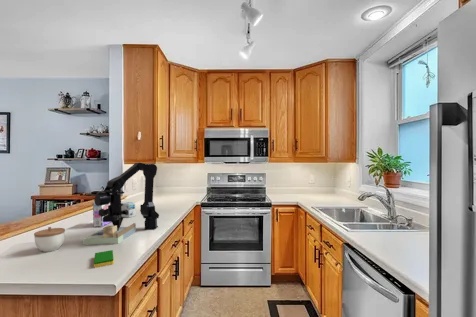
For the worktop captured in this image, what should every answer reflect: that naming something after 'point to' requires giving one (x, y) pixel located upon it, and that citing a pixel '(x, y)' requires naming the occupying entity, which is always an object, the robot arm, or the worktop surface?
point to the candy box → (97, 218)
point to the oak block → (109, 231)
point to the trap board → (120, 236)
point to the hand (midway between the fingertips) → (117, 231)
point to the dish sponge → (103, 258)
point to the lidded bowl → (49, 239)
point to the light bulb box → (129, 209)
